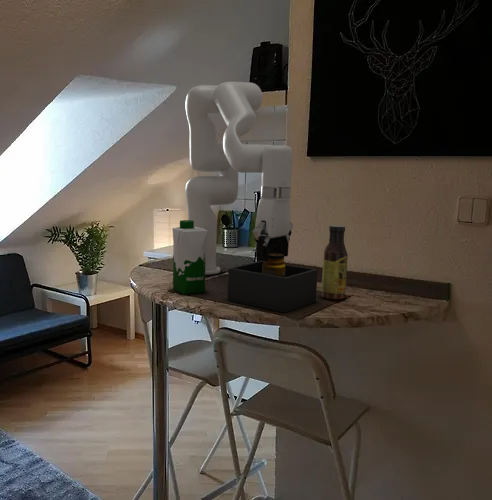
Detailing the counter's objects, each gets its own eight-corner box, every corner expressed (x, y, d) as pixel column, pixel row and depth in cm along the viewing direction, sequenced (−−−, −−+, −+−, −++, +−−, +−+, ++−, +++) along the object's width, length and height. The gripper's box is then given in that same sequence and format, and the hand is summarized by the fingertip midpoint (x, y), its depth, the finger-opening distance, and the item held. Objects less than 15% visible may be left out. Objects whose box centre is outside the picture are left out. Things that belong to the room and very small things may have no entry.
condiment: (291, 299, 154) (293, 254, 152) (268, 303, 150) (270, 258, 148) (270, 293, 160) (272, 250, 158) (248, 297, 156) (249, 253, 154)
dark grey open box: (227, 300, 156) (228, 268, 155) (260, 290, 167) (261, 260, 166) (284, 313, 144) (286, 278, 143) (316, 301, 155) (317, 269, 154)
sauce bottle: (341, 301, 155) (346, 228, 152) (318, 298, 158) (322, 226, 155) (347, 296, 160) (351, 225, 157) (324, 293, 164) (328, 223, 160)
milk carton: (195, 286, 173) (196, 219, 169) (210, 293, 164) (211, 222, 161) (168, 288, 169) (169, 220, 166) (182, 295, 161) (183, 224, 158)
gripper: (280, 191, 160) (277, 252, 163) (244, 194, 148) (241, 260, 151) (305, 192, 154) (301, 255, 158) (269, 196, 142) (266, 264, 146)
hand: (272, 258), depth 154 cm, fingers open, 9 cm apart
